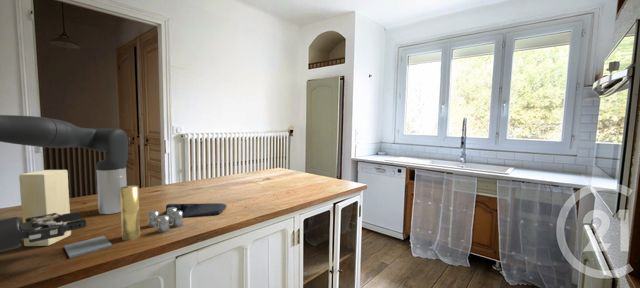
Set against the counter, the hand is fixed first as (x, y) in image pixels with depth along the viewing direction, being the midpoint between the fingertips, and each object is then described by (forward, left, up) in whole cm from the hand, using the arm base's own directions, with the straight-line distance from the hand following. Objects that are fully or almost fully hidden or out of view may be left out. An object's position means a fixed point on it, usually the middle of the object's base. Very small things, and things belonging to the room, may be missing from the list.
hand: (82, 218), depth 73 cm
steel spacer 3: (-4, +24, -9) cm, 26 cm away
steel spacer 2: (+2, +20, -9) cm, 22 cm away
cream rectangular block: (-16, -6, -9) cm, 19 cm away
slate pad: (-2, +1, -9) cm, 9 cm away
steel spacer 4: (+1, +25, -9) cm, 26 cm away
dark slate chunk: (-9, +36, -10) cm, 38 cm away
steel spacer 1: (-5, +19, -9) cm, 22 cm away
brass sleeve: (0, +11, -9) cm, 14 cm away
